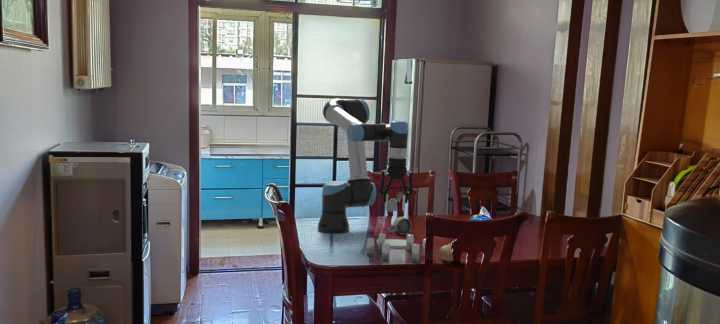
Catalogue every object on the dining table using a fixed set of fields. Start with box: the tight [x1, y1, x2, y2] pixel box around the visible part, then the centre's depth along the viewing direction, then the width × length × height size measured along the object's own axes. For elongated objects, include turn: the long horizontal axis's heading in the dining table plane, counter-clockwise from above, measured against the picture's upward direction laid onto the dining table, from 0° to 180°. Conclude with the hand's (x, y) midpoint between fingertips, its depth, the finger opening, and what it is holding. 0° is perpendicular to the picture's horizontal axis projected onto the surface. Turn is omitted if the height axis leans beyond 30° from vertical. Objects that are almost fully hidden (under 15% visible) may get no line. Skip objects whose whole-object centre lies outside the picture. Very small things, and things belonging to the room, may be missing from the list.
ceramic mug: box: [387, 216, 413, 235], centre depth 260 cm, size 11×8×8 cm
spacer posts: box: [365, 233, 427, 264], centre depth 221 cm, size 26×18×7 cm
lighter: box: [387, 191, 404, 213], centre depth 232 cm, size 7×2×8 cm, turn 126°
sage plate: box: [375, 238, 406, 250], centre depth 237 cm, size 14×10×1 cm
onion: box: [438, 242, 452, 263], centre depth 217 cm, size 8×8×7 cm
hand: (394, 210), depth 233 cm, fingers closed on lighter, 7 cm apart
